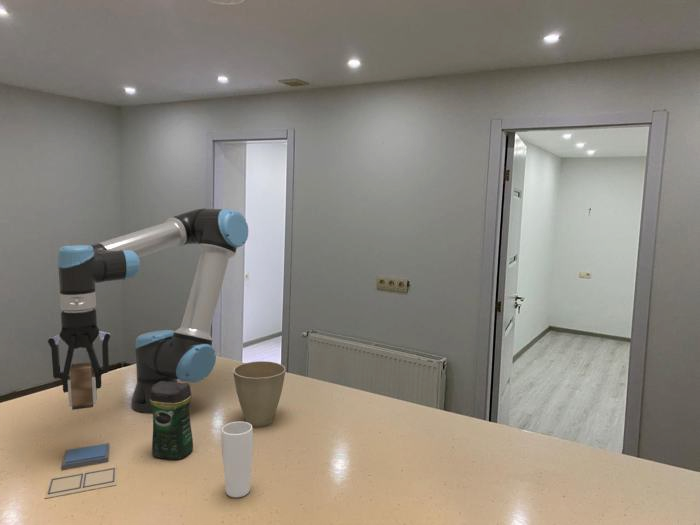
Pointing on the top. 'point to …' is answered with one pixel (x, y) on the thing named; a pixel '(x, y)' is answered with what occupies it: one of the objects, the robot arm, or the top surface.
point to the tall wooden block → (81, 385)
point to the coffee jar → (171, 420)
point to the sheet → (81, 481)
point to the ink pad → (86, 456)
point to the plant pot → (259, 390)
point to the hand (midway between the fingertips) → (83, 402)
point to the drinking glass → (237, 457)
